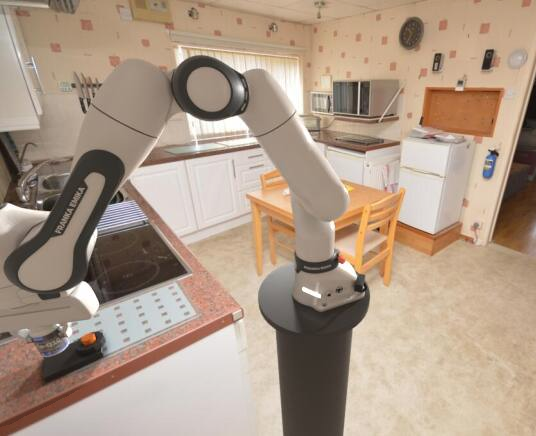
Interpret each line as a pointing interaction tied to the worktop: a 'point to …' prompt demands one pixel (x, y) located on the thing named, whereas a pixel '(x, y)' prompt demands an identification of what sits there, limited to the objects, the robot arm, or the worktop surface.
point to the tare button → (88, 339)
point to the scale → (73, 357)
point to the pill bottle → (48, 339)
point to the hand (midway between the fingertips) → (50, 338)
